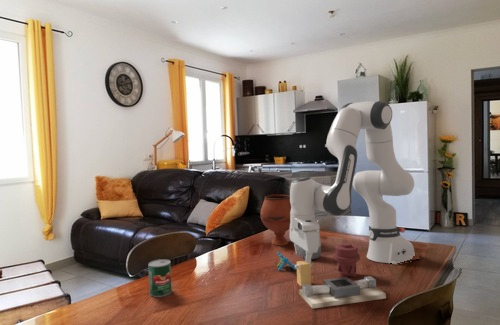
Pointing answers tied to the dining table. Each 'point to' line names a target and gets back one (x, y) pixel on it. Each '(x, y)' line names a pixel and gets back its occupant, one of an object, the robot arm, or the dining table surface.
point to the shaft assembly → (339, 287)
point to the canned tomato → (160, 277)
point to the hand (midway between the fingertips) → (303, 258)
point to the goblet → (277, 216)
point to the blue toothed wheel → (284, 262)
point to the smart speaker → (314, 255)
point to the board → (329, 300)
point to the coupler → (303, 272)
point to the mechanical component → (347, 259)
